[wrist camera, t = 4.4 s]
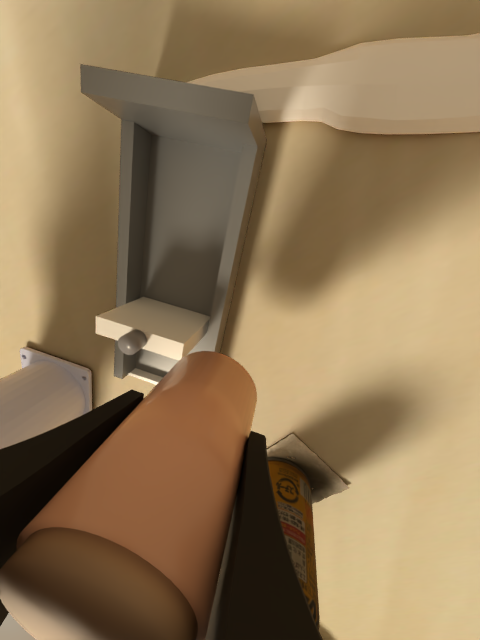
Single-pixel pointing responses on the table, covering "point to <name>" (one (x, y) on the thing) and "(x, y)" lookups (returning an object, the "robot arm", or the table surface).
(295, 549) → the condiment
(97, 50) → the table surface
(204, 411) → the jar
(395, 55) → the spatula
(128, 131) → the grey tray
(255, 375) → the table surface
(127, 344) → the pusher
